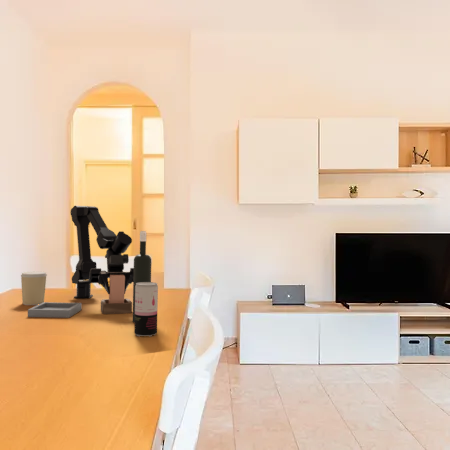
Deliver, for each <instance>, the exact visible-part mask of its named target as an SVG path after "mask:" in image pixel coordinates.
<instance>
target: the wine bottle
mask: <svg viewBox="0 0 450 450" xmlns="http://www.w3.org/2000/svg"><path fill="white" fill-rule="evenodd" d="M133 268H134V275H133V282H132V283H133V284H132V287H133V288H132V323H134V324H135V286H136V283H139V282H152V257H151V256H150V255H149V254H147V230H140V231H139V254H137V255H135V256H134V258H133Z"/></svg>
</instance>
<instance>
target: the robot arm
mask: <svg viewBox="0 0 450 450" xmlns="http://www.w3.org/2000/svg"><path fill="white" fill-rule="evenodd" d="M70 216H71V221H72V223H73V225H74V226H75V227H76V237H77V248H78V261H77V262H76V263H77V264H76V265H75V271H74V273H73V275H72V277H71V283H72V284H76V295H75V296H73V299H90V298H92V297H93V296H94V295H93V294H91V290H92V289H91V286H92V285H91V284H98V285H101V286H102V287H103V288H104V290H105V292H106V293H107V294H108V295H109V294H110V288H109V279H110V275H124V276H125V291H124V295H125V294H126V292H127V289H128V286H129V285H130V284H132V283H133V275H134V267H130V268H129V269H130V270H129V271H124V269H125V266H124V265H125V264H129V254H127V253H126V252H127V250H128V249H129V247H130V246H131V244H132V242H133V239H132V237H131V236H130V235H129V234H126V233H125V232H124V231H123V230H122V231H118V233H117V234H116V233H115V232H114V231H113V230H111V229H109V228H108V226H107V224H106V223H105V221H104V219H103V217H102V216H101V213H100V212H99V208H98V207H97V206H93V205H92V206H88V205H73V207H71V209H70ZM90 225H91V226H92V229H93V230H94V232H95V233H96V243H97V245H98V248H100V249H101V250H106V254H105V256H104V258H105V259H106V265H107V266H106V267H107V269H106V270H107V271H106V270H102V268H97V262H96V261H94V260H93V259H92V254H91V244H90V243H91V241H90V230H89V226H90Z"/></svg>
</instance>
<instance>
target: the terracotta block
mask: <svg viewBox="0 0 450 450" xmlns="http://www.w3.org/2000/svg"><path fill="white" fill-rule="evenodd" d="M108 283H109V288H110V294H108V299H109V304H110V303H124V299H125V294H124V291H125V276H124V275H110V278H109V279H108Z"/></svg>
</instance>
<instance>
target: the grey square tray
mask: <svg viewBox="0 0 450 450" xmlns="http://www.w3.org/2000/svg"><path fill="white" fill-rule="evenodd" d="M82 305H83V304H82V302H55V301H54V302H46V301H44V302H43V303H41V304H39V305H33V307H31V308H28V309H27V318H65V319H66V318H67V319H68V318H71V317H73V316H74V315H76V314H77V313H79V312H80V311H82V308H83V307H82Z"/></svg>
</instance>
